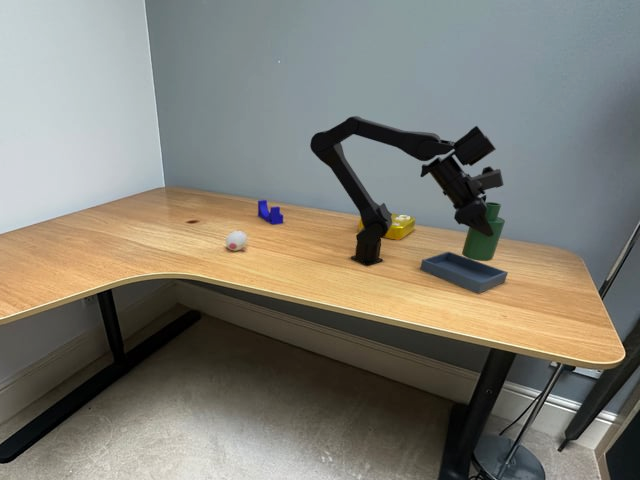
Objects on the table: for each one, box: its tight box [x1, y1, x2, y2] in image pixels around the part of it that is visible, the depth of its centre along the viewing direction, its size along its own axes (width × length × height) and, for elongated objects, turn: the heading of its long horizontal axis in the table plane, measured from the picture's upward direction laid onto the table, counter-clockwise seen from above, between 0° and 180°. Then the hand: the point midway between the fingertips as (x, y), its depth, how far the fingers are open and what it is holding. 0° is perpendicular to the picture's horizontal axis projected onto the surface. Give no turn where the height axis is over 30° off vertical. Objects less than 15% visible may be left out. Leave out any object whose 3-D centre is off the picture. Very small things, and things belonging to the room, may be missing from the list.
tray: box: [419, 251, 509, 294], centre depth 96 cm, size 11×16×3 cm
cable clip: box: [257, 199, 284, 226], centre depth 139 cm, size 12×4×6 cm, turn 25°
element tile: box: [358, 212, 416, 241], centre depth 128 cm, size 15×15×5 cm
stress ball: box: [225, 230, 248, 253], centre depth 113 cm, size 8×8×7 cm
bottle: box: [461, 201, 506, 262], centre depth 89 cm, size 7×7×13 cm
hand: (491, 231), depth 88 cm, fingers closed on bottle, 7 cm apart
